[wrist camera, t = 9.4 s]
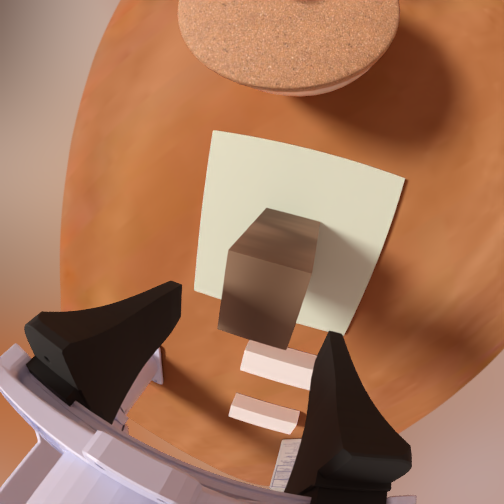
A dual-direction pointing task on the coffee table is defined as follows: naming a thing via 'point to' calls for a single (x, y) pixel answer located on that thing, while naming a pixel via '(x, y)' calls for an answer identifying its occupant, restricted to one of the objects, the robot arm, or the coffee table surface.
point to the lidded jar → (289, 40)
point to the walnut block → (268, 277)
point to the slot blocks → (278, 369)
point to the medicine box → (284, 464)
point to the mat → (301, 204)
